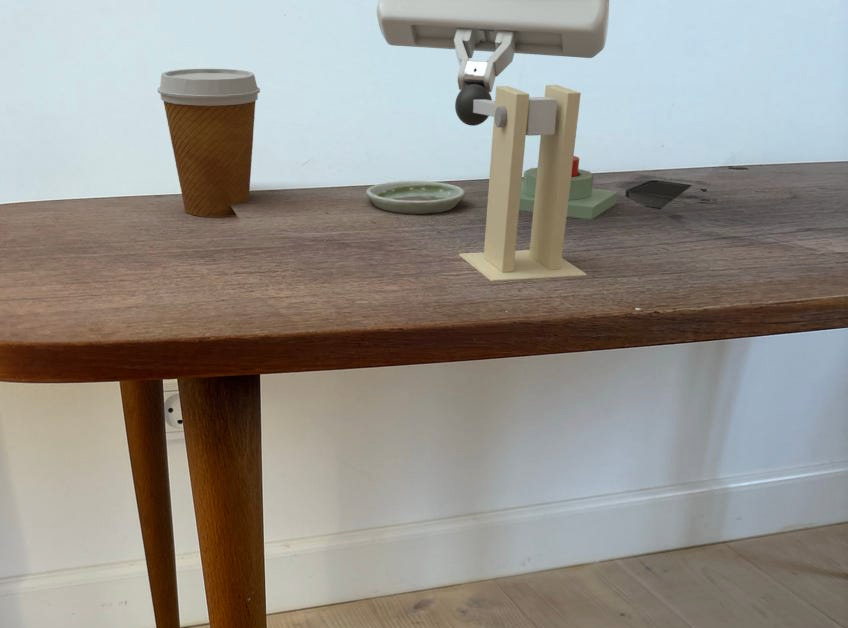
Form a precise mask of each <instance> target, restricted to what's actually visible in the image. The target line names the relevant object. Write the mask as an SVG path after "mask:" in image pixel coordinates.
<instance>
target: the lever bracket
mask: <svg viewBox="0 0 848 628" xmlns="http://www.w3.org/2000/svg"><path fill="white" fill-rule="evenodd" d="M581 93H582V92H579V91H577V90H573V89H571V88H567V87H564V86H561V85H558V84H545V88H544V97H546V98H553V99H557V109H556V122H555V134H554V135H540V138H539V139H540V140H539V148H538V149H539V150H538V159H537V168H538V169H537V179H536V190H535V200H534V210H533V212H532V220H531V221H532V223H531V232H530V242H529V249H522V250H521V249H520V250H516V249H517V236H518V225H519V214H520V210H519V204H520V193H521V182H522V181H523V172H524V170H523V169H524V157H525V148H526V137H527V135H526V126H527V115H528V104H529V97H530V93H528V92H526V91H522V90H520V89H517V88H514V87H512V86H509V85H497V86H495V98H494V101H495V109H494V117H493V124H492V137H491V151H490V166H489V177H488V179H489V180H488V191H487V192H488V193H487V205H486V206H487V207H486V217H485V218H486V221H485V234H484V246H483V247H484V249H483V252H465V253H459V254H458V256H459V257H460V258H462V259H463V260H464V261H466V262H467V263H468V264H469V265H470V266H472V267H473V268H474V269H476V270H477V271H478V272H479V273H480V274H481V275H482V276H484V278H486V279H487V280H488V281H490V282H491V283H493V282H510V281H512V282H513V281H526V280H542V279H543V280H544V279H561V278H577V277H588V274H587V273H586V272H584V271H583V270H581V269H579V268H578V267H576V266H575V265H574V264H572V263H570V262H569V261H568V260H566V259H565V258H563V254H564V253H563V251H564V243H565V235H566V226H567V219H568V216H567V209H568V200H569V191H570V183H571V174H572V165H573V156H575V146H576V145H575V144H576V138H577V128H578V120H579V112H580V105H581V104H580V103H581Z"/></svg>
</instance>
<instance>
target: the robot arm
mask: <svg viewBox="0 0 848 628" xmlns="http://www.w3.org/2000/svg"><path fill="white" fill-rule="evenodd" d="M376 18H377V22H378V27H379V30H380V33H381V35H382V37H383V39H384V40H385V42H386V43H387V44H388V45H390V46H396V47H409V48H410V47H411V48H426V49H427V48H428V49H442V50H455V54H456V55H455V57H456V59H457V63H458V66H459V69H458V73H457V85H458V90H459V91H461V90H462V89H463V88H464V87H466V86H468V85H471V84H478V85H481V86H483V87H485V88H486V89H487V90H488V92H489V93H492V92H493V88H494V85H495V81H496V77H498V76H499V75H500V74H502V72H504V70H505V69H506V68H507V67H508V66H509V65H511V63H512V62H513V61H514V56H515V54H523V55H538V56H552V57H553V56H554V57H568V58H569V57H570V58H584V59H592V58H595V57H596V56H597V55H599V53H601V52H602V51H603V50H604V48H605V46H606V42H607V37H608V30H609V20H610V0H378V4H377V7H376ZM474 52H490V53H492V54H491V55H490V56H489V57H488V58H487V60H485V61H480V60H470V59H472V58H473V56H474Z"/></svg>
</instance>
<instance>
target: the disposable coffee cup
mask: <svg viewBox="0 0 848 628" xmlns="http://www.w3.org/2000/svg"><path fill="white" fill-rule="evenodd" d="M159 86H160V87H158V88H157V93H158V94H160V100H161V101H163V105H164V110H165V116H166V120H167V126H168V131H169V136H170V141H171V147H172V149H173V150H172V151H173V155H174V157H173V158H174V162H175V167H176V172H177V176H178V182H179V187H180V191H181V196H182V197H181V198H182V202H183V208H184V211H185V212H186V213H188V214H190V215H192V216H197V217H206V218H224V217H232V216H237V213H236V212H235V210H234V208H233V207H232V206H234V205H239V204H243V203H246V202H247V201H249V200H250V190H251V189H250V188H251V174H252V158H253V145H254V130H255V128H254V127H255V114H256V113H255V112H256V101H257V100H258V99H259V93H260V92H261V88H260V87H258V84H257V81H256V76H255V73H253V72H251V71H249V70H242V69H230V68H185V69H183V68H182V69H173V70H167V71H164V72H162V73H161V75H160V85H159Z"/></svg>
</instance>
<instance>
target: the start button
mask: <svg viewBox="0 0 848 628" xmlns="http://www.w3.org/2000/svg"><path fill="white" fill-rule="evenodd" d="M579 165H580V157H578V156H576V155H574V156H573V165H572V174H571V177H577V175H578V169H579Z"/></svg>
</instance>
